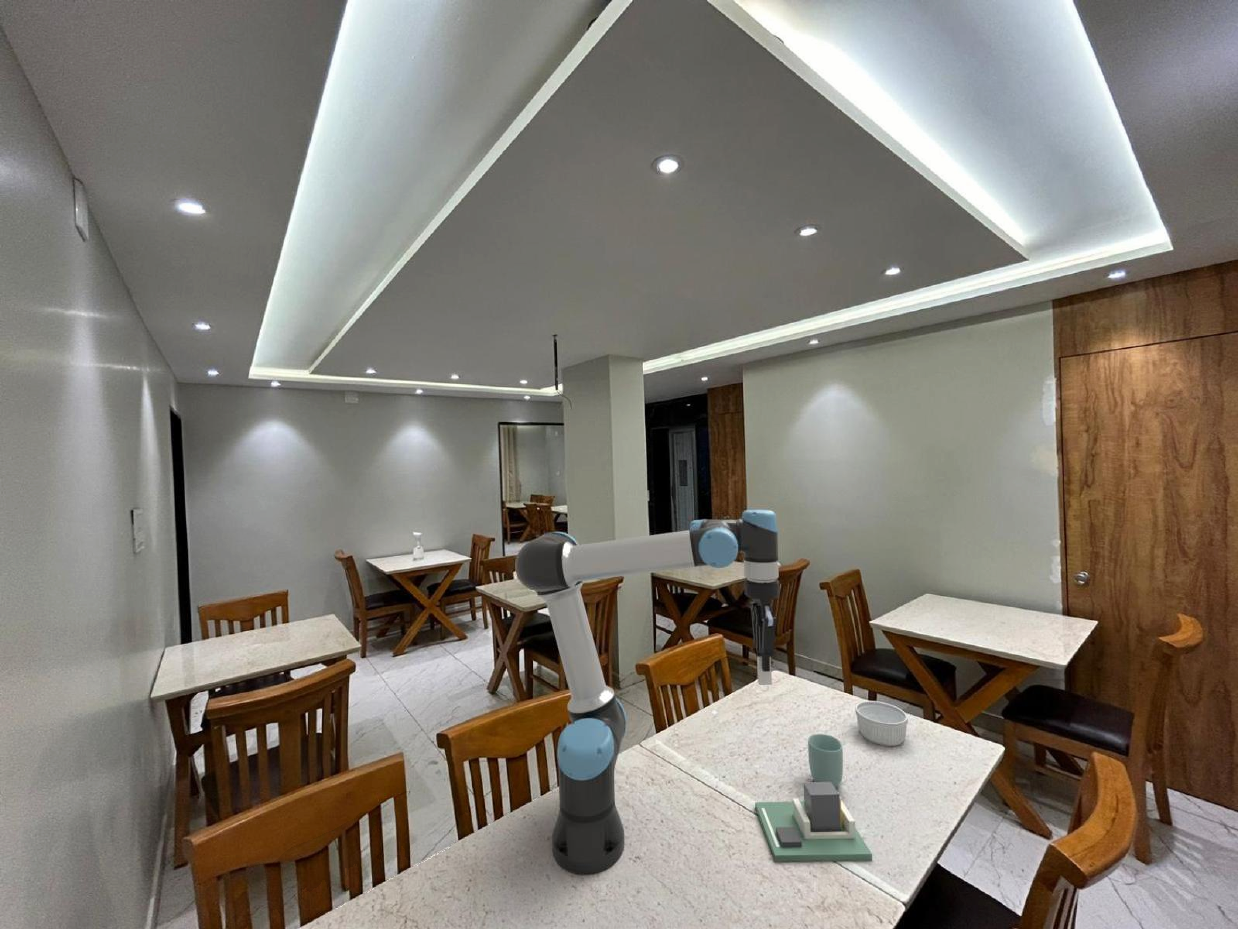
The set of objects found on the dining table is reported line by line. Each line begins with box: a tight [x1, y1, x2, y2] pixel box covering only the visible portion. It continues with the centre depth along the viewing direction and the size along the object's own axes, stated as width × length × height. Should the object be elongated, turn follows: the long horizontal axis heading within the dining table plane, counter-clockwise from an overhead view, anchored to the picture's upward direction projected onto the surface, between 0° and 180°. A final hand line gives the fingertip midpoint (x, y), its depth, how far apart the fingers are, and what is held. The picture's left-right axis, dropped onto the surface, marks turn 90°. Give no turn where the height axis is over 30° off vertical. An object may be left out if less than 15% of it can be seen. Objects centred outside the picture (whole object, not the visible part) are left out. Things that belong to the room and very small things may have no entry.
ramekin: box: [855, 700, 909, 747], centre depth 137 cm, size 13×13×7 cm
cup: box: [807, 733, 844, 789], centre depth 117 cm, size 8×8×10 cm
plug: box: [803, 781, 842, 832], centre depth 102 cm, size 7×4×8 cm, turn 90°
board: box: [754, 797, 873, 863], centre depth 102 cm, size 19×15×5 cm
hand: (764, 683), depth 108 cm, fingers closed
